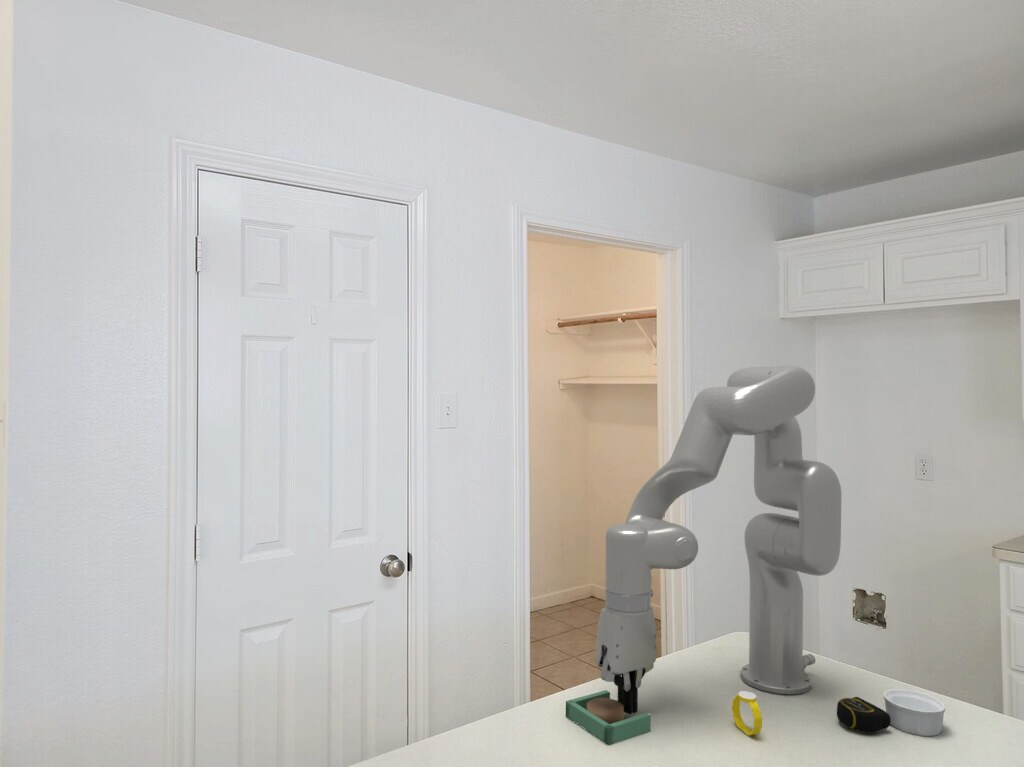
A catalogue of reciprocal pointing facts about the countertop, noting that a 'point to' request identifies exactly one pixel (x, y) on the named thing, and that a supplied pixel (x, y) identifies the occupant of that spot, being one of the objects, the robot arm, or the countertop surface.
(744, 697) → the watch
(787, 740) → the countertop surface
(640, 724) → the green u-shaped frame
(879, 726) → the tape measure
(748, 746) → the countertop surface
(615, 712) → the puck
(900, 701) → the ramekin
